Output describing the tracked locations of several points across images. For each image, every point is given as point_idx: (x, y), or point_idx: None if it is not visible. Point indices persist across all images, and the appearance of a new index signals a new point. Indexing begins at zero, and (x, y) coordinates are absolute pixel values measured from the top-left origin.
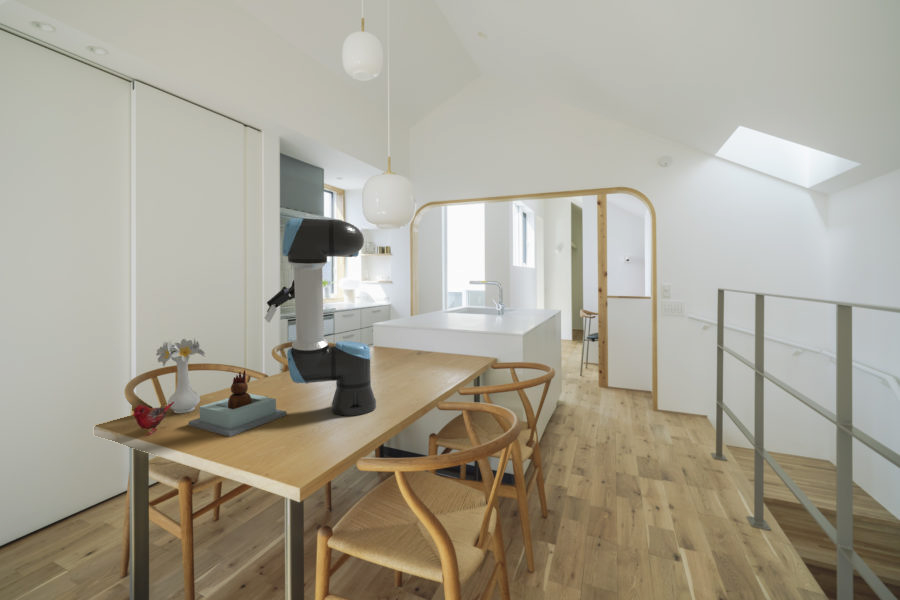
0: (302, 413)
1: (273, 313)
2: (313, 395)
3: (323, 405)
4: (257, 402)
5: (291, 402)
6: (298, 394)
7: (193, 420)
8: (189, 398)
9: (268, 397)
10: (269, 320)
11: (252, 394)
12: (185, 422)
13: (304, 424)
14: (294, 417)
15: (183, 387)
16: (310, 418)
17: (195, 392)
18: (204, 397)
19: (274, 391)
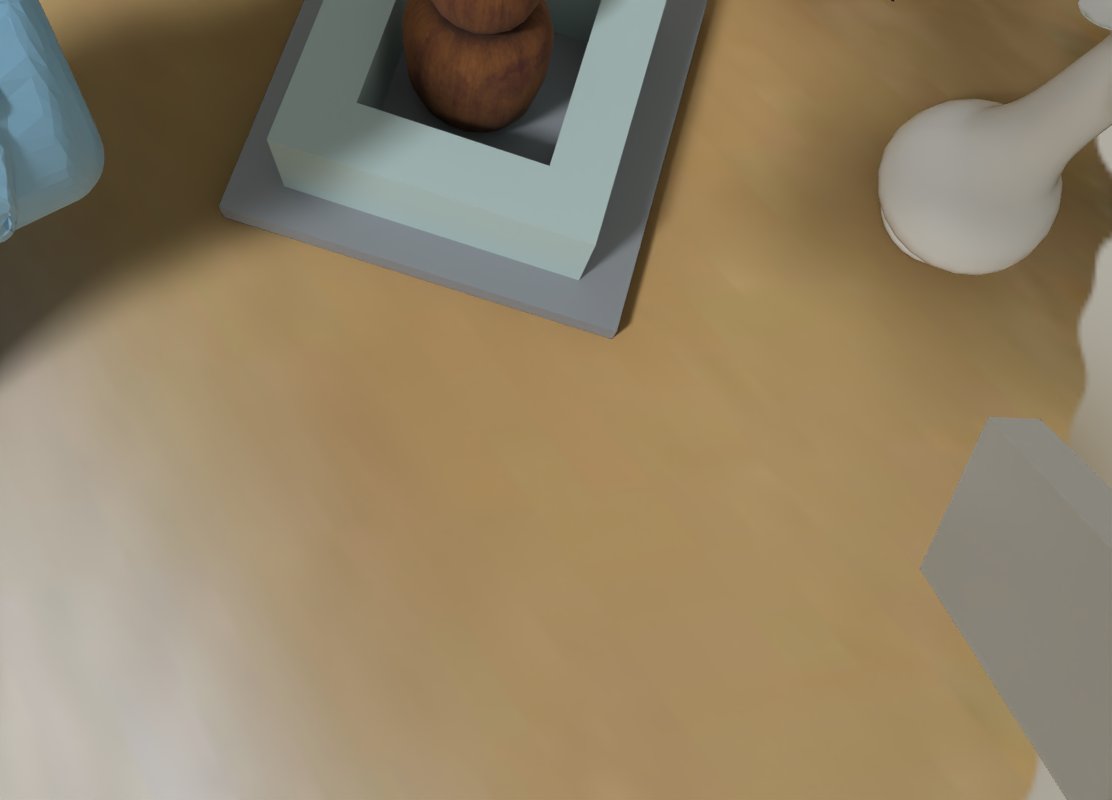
0: (125, 257)
1: (1101, 790)
2: (246, 674)
3: (37, 440)
4: (354, 54)
5: (338, 467)
6: (396, 675)
7: (693, 15)
8: (912, 138)
9: (345, 162)
10: (946, 558)
11: (517, 215)
12: (754, 50)
13: None
14: (144, 183)
15: (1005, 107)
16: None
17: (953, 202)
18: None
19: (653, 715)
